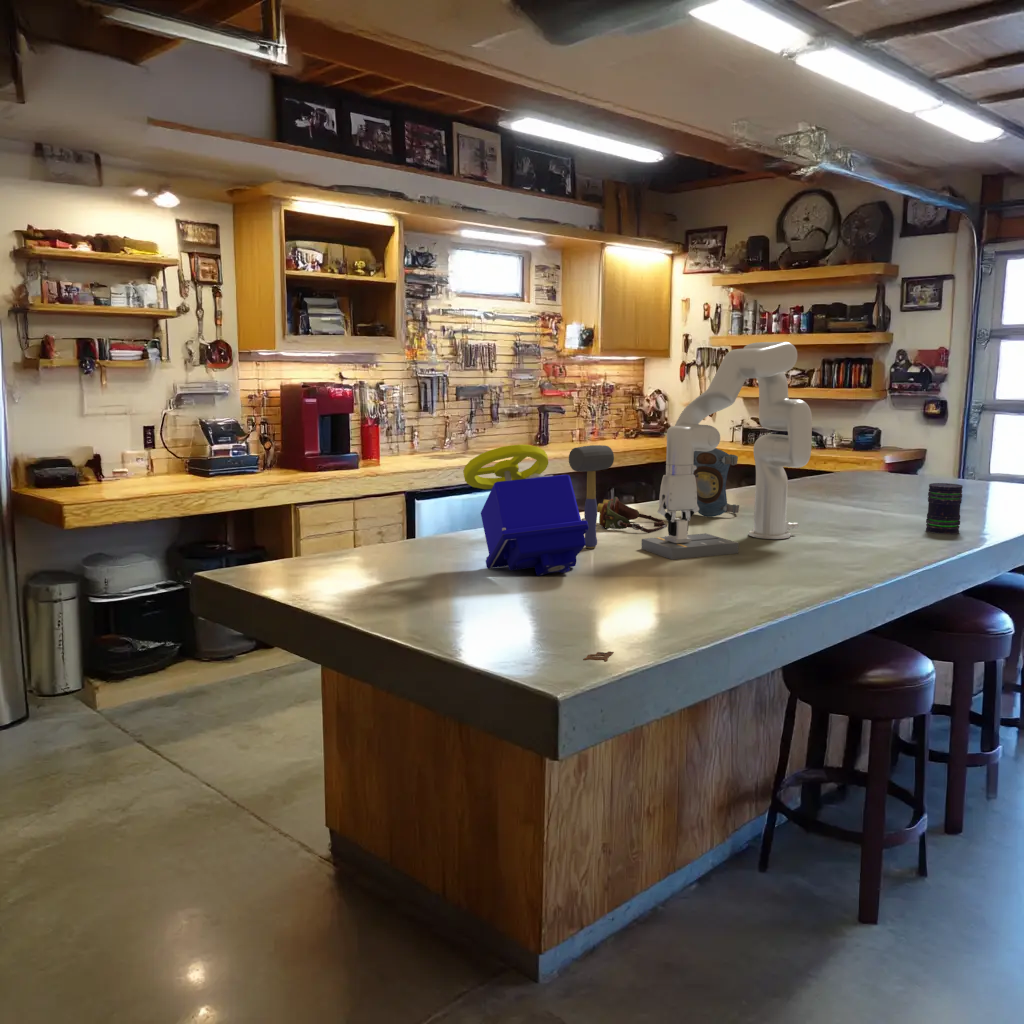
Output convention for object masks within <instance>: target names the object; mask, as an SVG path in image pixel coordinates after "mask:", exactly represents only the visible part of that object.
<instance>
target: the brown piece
mask: <svg viewBox="0 0 1024 1024" xmlns="http://www.w3.org/2000/svg"><path fill="white" fill-rule="evenodd" d="M613 654H614V651H607V652H603V651H597V652H596V653H593V654H587V656H586V657H584V658H582V661H589V660H591V661H604V662H608V660H609V658H610V657H611V656H612V655H613Z"/></svg>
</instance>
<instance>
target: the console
mask: <svg viewBox="0 0 1024 1024" xmlns="http://www.w3.org/2000/svg"><path fill="white" fill-rule="evenodd" d="M687 537H688V538H691V542H685V543H674V542H671V541H667V540H665V536H660V537H659V536H657V537H648V538H641V550H643V551H646V552H649V553H652V554H655V555H657V556H660V557H664V558H667V559H669V560H681V559H690V558H702V557H703V558H704V557H709V556H710V557H712V556H713V557H714V556H720V555H721V556H723V555H733V554H739V542H736V541H735V540H734V541H733V540H731V539H726V538H723V537H720V536H717V535H712V534H709V533H706V532H705V533H695V534H694V533H693V534H687Z"/></svg>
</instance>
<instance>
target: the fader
mask: <svg viewBox="0 0 1024 1024" xmlns="http://www.w3.org/2000/svg"><path fill="white" fill-rule="evenodd" d="M675 522H676V523H677V527H676V536H672V535H669V534H668V535H664V537H665V540H667V541H671V542H674V543H685V542H691V538H688V537H687V535H688V534H687V531H688V532H689V521H686V520H684V519H682V518H678V517H677V518H676V517H675Z"/></svg>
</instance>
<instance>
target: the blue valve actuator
mask: <svg viewBox="0 0 1024 1024" xmlns="http://www.w3.org/2000/svg"><path fill="white" fill-rule="evenodd" d="M509 458H510V459H509ZM526 458H531V459H533V460H535V462H534V463H533V464H532V465H531V466H530V467H529V468H526V469H524V470H522V471H519V470H520V469H519V468H520V467H519V464H520V463H521V462H522V461H524V460H525V459H526ZM496 461H498V462H497V463H495V464H494V465H492V466H486V465H489V464H491V463H493V462H496ZM548 465H549V458H548V455H547V453H546V450H544V449H543V448H541V447H540V446H536V445H530V444H514V445H505V446H500V447H496V448H493V449H491V450H488V451H485V452H482V453H480V454H479V455H476V456H475V457H473V458H471V459H470V460H469V462H468V463H467V464H466V465H465V466H464V468H463V472H462V473H463V478H464V482H465V483H466V484H467V485H468V486H470V487H472V488H477V489H482V490H490V492H489V494H488V496H487V498H486V501H485V503H484V505H483V507H482V509H481V511H480V516H481V523H482V527H483V531H484V532H483V533H484V537H485V541H486V542H485V543H486V546H487V550H488V556H486V559H485V565H486V568H487V569H495V568H504V567H508V570H509V571H517V570H524V569H525V570H526V569H532V568H534V571H535V575H536V577H541V576H544V575H547V574H553V573H562V574H563V573H568V572H569V571H570V572H571V569H570V568H572V567H576V566H577V565H576V564H577V556H578V555H580V554H579V553H580V552H581V551H582V550H583V549H584V548H585V547H586V546H585V545H586V543H585V533H586V531H587V530H588V529H589V526H588V523H587V521H586V520H585V517H583V518H582V517H581V514H580V511H579V506H578V503H577V498H576V495H575V490H574V487H573V483H572V479H571V476H570V474H561V475H560V474H559V475H554V474H547V475H544V474H543V473H544V472H545V470H546V469H547V467H548ZM484 466H486V467H484ZM489 474H494V475H495V476H496V477H495V478H494V477H482V476H483V475H489Z"/></svg>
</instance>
